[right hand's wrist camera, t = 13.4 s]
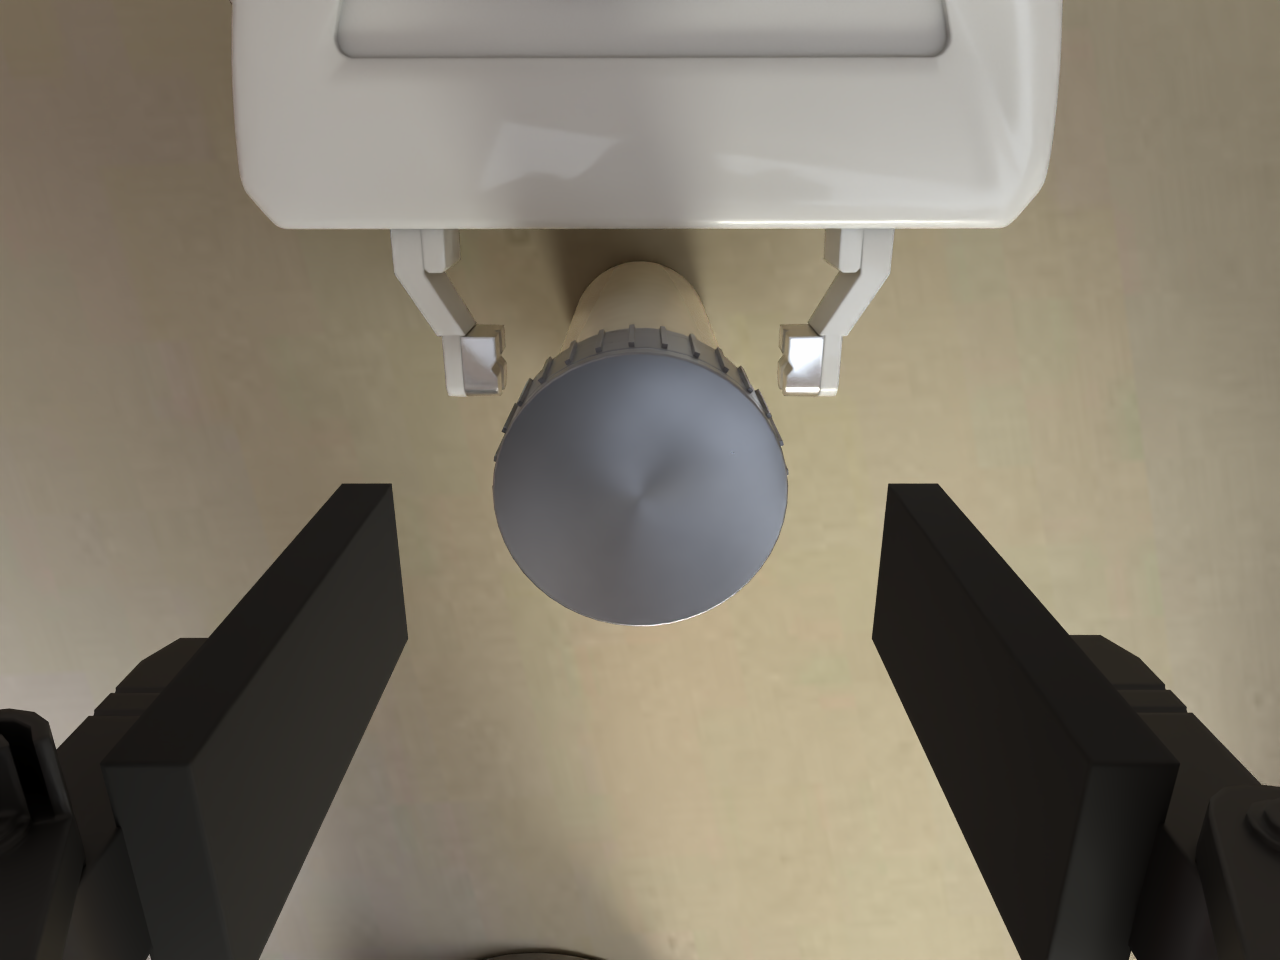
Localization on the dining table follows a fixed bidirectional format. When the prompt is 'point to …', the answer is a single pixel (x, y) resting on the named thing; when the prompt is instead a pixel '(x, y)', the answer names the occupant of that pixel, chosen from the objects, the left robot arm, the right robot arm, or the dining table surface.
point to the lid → (640, 478)
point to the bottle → (640, 304)
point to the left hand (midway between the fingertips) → (642, 392)
